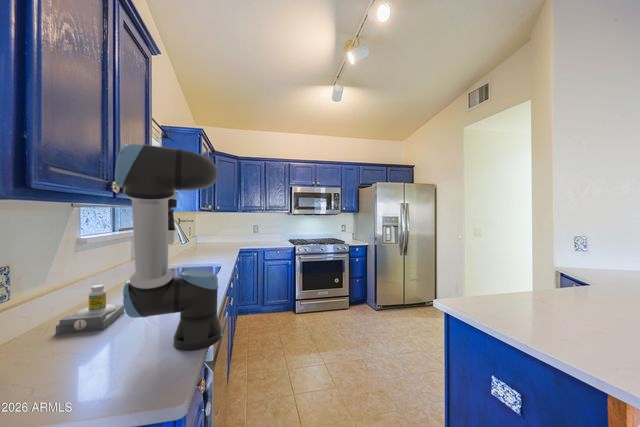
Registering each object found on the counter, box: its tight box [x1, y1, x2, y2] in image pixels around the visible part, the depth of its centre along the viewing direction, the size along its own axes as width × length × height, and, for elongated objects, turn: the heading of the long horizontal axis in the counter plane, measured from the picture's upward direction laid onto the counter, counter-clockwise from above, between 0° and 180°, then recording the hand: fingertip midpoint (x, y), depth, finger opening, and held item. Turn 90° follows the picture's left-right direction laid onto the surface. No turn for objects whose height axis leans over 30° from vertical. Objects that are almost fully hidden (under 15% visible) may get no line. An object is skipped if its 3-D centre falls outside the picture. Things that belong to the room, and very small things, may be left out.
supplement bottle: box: [88, 284, 107, 312], centre depth 103 cm, size 5×5×10 cm
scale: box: [55, 304, 125, 335], centre depth 100 cm, size 18×14×5 cm
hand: (165, 246), depth 113 cm, fingers open, 13 cm apart
